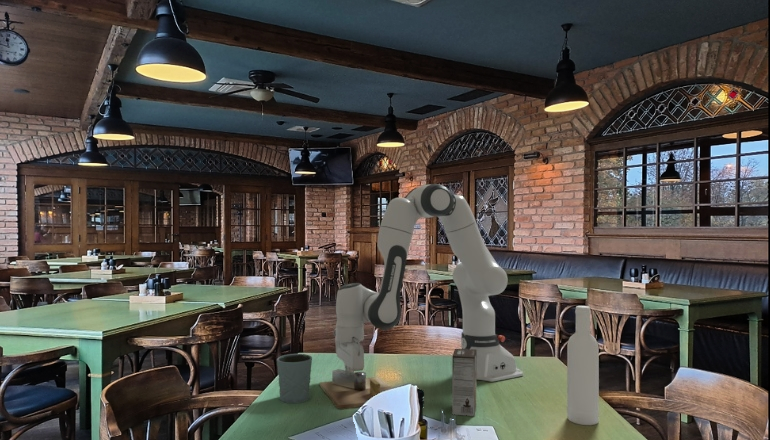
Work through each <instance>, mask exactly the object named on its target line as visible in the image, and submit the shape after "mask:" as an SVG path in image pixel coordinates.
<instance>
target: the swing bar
mask: <svg viewBox="0 0 770 440" xmlns="http://www.w3.org/2000/svg"><path fill="white" fill-rule="evenodd" d="M331 374H332V378H331V379H332V384H336V385H340V386H344V387H348V388H353V389H355V390H365V389H366V378H367V373H366V372H365V371H354V372H350V371H345V369H340V368H336V369H335V370H332V373H331Z"/></svg>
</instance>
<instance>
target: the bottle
mask: <svg viewBox="0 0 770 440" xmlns="http://www.w3.org/2000/svg"><path fill="white" fill-rule="evenodd" d="M590 307H591V306H588V305H576V307H575V311H574V313H575V332H574V333H573V334H572V335H571V336H570V337H569V338H568V342H567V347H566V348H567V353H566V355H567V356H566V357H567V359H566V361H567V362H566V363H567V364H566V365H567V366H566V367H567V368H566V369H567V371H566V373H567V374H566V376H567V380H566V381H567V383H566V385H567V388H566V390H567V391H566V393H567V395H566V396H567V399H566V401H567V402H566V404H567V405H566V413H567V414H566V415H567V420H569V421H570V422H571V423H574V424H577V425H583V426H594V425H597V424H598V423H599V419H600V409H599V408H600V407H599V406H600V404H599V403H600V400H599V399H600V398H599V397H600V396H599V391H600V390H599V386H600V385H599V383H600V379H599V376H600V375H599V372H600V371H599V369H600V368H599V363H600V362H599V361H600V359H599V344H598V340H597V339H596V337H594V336H593V335H592V334H591V313H592V312H591V308H590Z"/></svg>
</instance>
